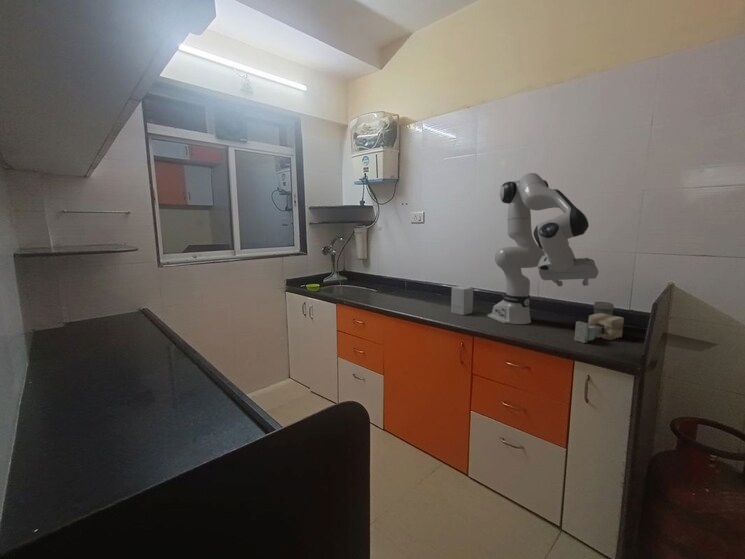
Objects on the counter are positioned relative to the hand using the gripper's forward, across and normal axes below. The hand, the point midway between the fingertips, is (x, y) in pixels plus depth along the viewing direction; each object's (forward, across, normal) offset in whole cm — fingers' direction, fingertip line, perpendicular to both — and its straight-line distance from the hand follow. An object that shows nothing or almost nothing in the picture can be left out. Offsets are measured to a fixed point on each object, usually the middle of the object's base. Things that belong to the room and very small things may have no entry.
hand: (573, 284), depth 137 cm
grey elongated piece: (+31, 0, +3) cm, 31 cm away
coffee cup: (+46, +3, -15) cm, 48 cm away
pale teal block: (+27, +1, +6) cm, 28 cm away
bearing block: (+38, -2, -4) cm, 38 cm away
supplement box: (+22, +65, -1) cm, 69 cm away
